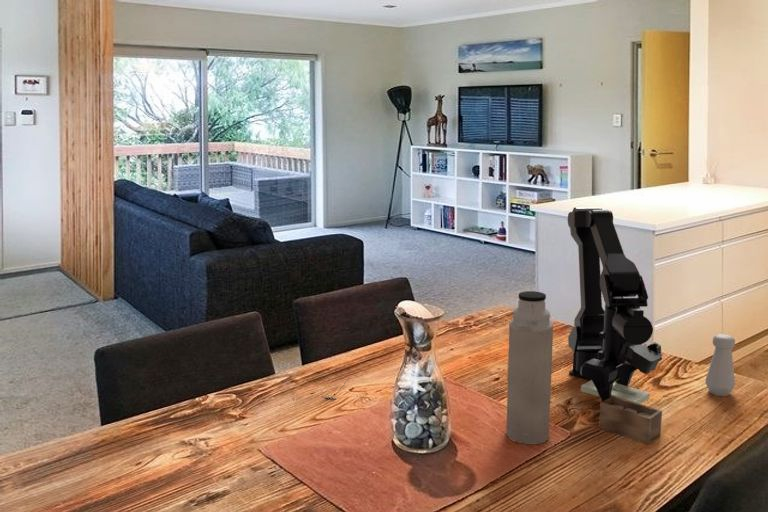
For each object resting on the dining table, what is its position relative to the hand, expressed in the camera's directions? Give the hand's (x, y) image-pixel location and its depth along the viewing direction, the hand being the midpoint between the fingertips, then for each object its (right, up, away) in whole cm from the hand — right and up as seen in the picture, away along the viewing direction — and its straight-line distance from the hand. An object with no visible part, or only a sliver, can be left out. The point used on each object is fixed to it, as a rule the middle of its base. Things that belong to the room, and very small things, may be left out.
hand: (614, 399), depth 145 cm
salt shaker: (+25, 0, +6) cm, 26 cm away
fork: (-58, 0, +11) cm, 59 cm away
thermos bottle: (-21, -4, -13) cm, 25 cm away
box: (-1, -4, -12) cm, 12 cm away
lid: (0, +1, 0) cm, 1 cm away
